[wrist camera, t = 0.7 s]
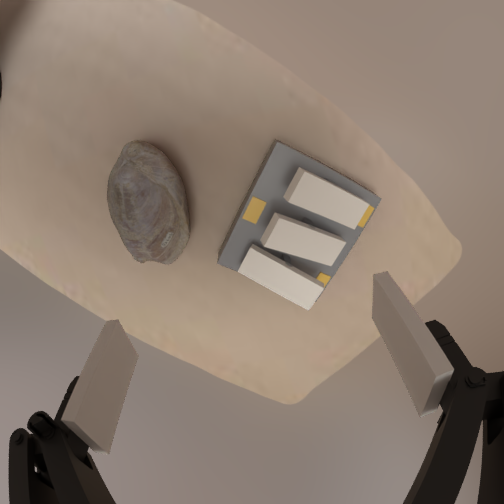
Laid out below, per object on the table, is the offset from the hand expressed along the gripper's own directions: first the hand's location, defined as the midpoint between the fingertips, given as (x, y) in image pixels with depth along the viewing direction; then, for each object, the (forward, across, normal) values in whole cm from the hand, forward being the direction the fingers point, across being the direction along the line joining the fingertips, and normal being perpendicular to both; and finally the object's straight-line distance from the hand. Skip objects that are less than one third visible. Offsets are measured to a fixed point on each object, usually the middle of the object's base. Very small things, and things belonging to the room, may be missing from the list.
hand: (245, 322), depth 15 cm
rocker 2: (+20, +6, -6) cm, 22 cm away
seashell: (+26, -12, +1) cm, 29 cm away
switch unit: (+26, +6, -6) cm, 27 cm away
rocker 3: (+20, +2, -11) cm, 23 cm away
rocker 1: (+21, +9, -2) cm, 23 cm away
